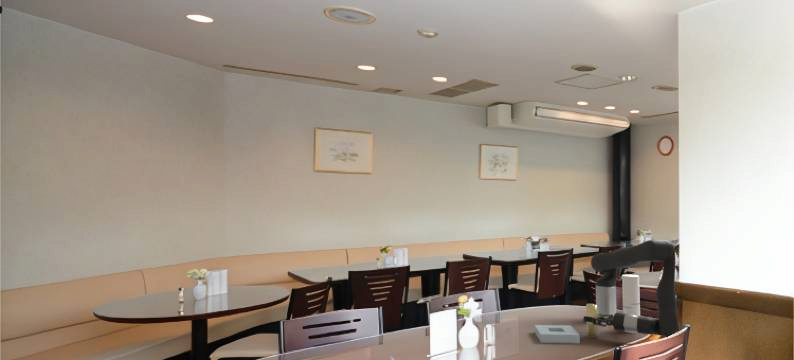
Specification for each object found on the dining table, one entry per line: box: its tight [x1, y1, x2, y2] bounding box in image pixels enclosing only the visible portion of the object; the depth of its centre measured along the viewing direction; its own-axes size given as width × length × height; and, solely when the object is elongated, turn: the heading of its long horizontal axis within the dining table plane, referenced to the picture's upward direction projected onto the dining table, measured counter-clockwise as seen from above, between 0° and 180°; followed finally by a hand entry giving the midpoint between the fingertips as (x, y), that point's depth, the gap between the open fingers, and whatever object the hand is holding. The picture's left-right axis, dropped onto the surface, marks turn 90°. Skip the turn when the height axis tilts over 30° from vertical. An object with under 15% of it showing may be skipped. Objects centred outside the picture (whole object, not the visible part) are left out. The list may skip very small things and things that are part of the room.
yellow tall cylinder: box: [585, 303, 599, 339], centre depth 223 cm, size 4×4×14 cm
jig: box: [534, 324, 581, 344], centre depth 222 cm, size 16×16×4 cm
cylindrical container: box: [621, 274, 641, 316], centre depth 234 cm, size 7×7×25 cm
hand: (585, 317), depth 225 cm, fingers closed on yellow tall cylinder, 4 cm apart
